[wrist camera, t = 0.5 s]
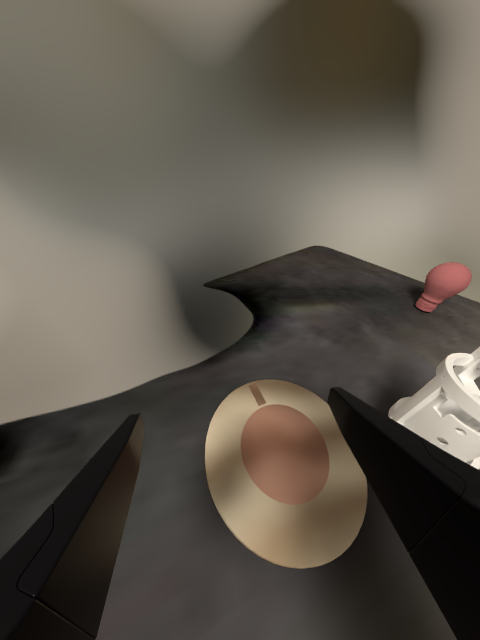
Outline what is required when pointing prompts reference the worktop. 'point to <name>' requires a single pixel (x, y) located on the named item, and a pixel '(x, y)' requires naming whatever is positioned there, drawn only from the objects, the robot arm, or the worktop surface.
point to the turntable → (284, 475)
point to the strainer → (447, 408)
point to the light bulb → (443, 284)
